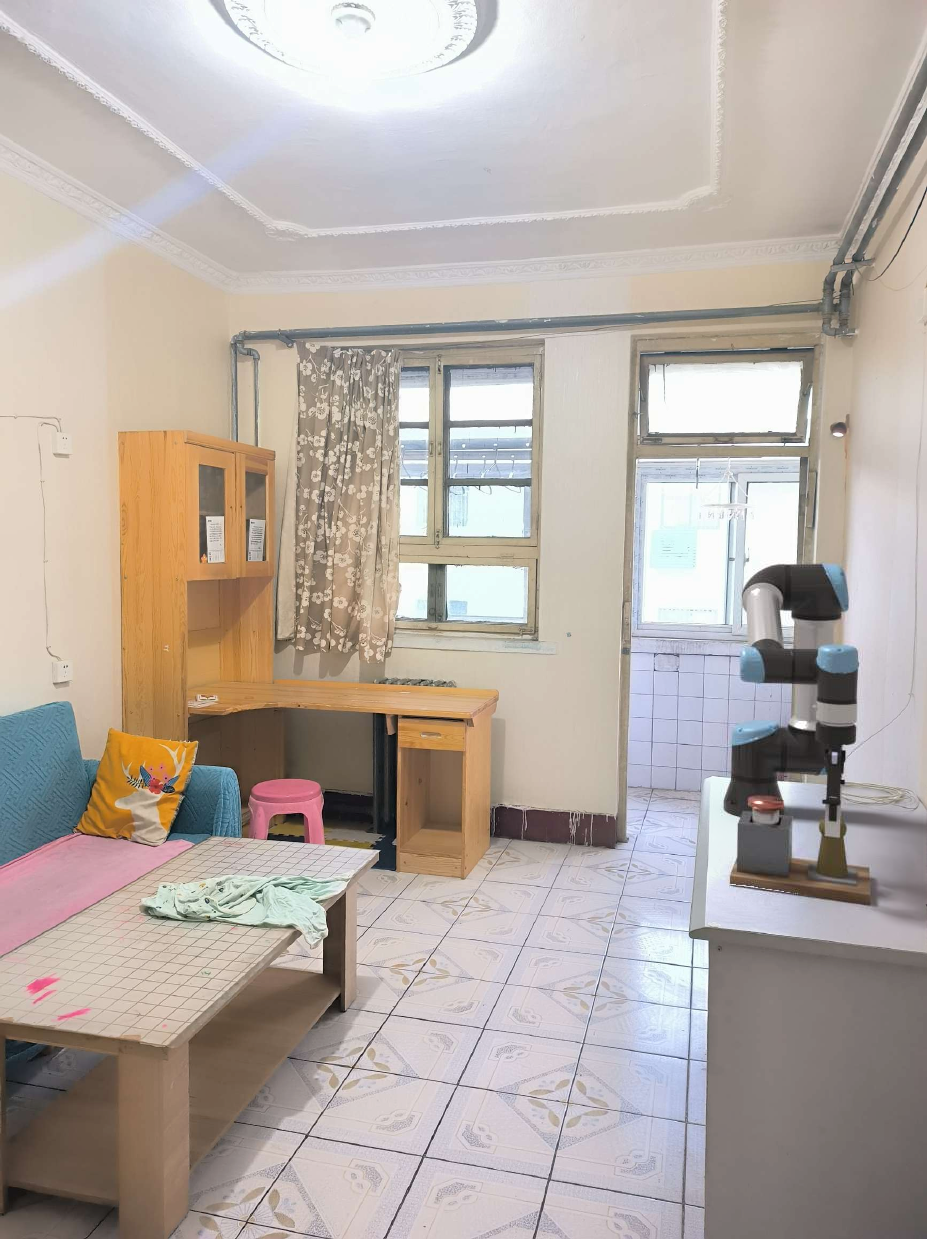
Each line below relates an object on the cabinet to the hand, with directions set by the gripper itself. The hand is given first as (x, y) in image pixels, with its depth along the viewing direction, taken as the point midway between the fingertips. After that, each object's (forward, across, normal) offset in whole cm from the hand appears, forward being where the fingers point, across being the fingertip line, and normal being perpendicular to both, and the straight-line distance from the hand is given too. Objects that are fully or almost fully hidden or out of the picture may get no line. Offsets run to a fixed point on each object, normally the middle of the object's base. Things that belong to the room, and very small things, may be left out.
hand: (833, 825), depth 178 cm
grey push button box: (+10, +1, -13) cm, 16 cm away
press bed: (+12, +1, -6) cm, 14 cm away
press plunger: (+5, 0, -13) cm, 14 cm away
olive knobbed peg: (+10, 0, 0) cm, 10 cm away
